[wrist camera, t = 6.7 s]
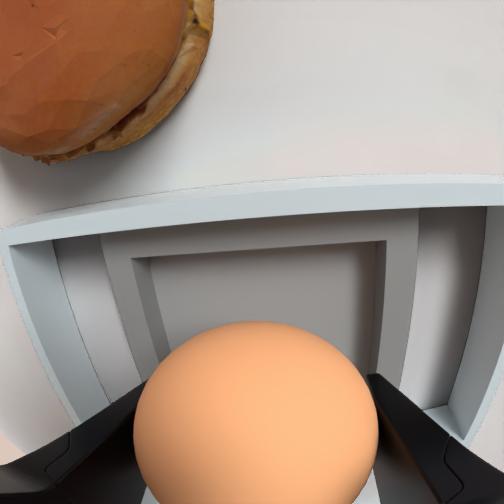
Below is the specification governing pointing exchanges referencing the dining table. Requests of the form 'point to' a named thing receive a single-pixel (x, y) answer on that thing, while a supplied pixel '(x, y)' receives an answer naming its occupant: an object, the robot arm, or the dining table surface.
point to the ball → (256, 420)
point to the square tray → (271, 282)
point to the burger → (94, 71)
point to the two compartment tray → (252, 206)
